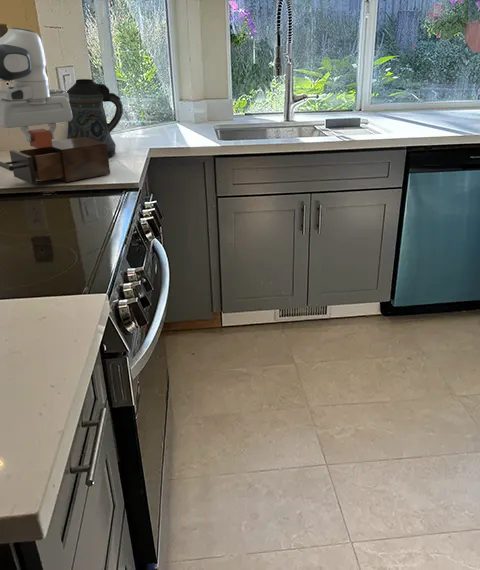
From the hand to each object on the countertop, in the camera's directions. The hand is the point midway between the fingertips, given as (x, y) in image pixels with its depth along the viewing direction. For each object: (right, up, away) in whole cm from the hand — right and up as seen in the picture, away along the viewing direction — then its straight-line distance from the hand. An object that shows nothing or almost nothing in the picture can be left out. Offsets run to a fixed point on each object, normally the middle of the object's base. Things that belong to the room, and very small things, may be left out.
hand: (40, 140), depth 172 cm
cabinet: (+6, -7, +12) cm, 15 cm away
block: (0, -2, +1) cm, 2 cm away
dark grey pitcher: (+3, +4, +35) cm, 36 cm away
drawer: (-2, -11, +3) cm, 11 cm away
